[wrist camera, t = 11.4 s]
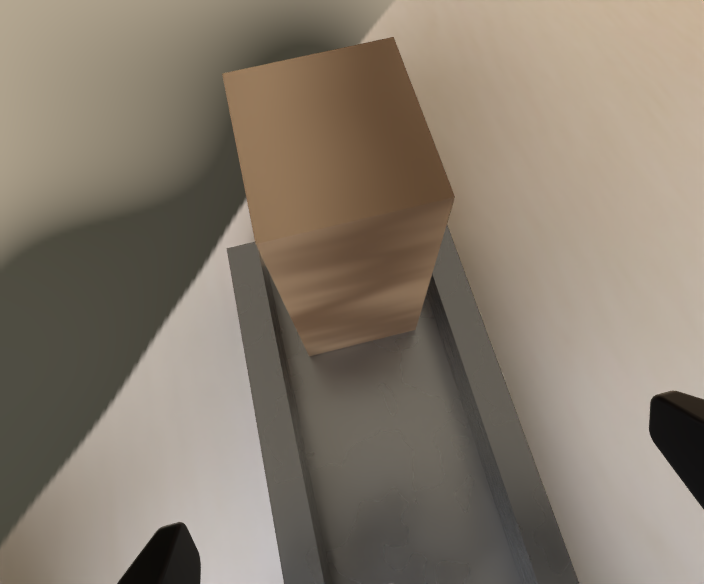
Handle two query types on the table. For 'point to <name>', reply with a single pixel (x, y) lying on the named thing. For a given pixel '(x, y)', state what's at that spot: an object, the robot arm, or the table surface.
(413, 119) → the wooden tall block
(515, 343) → the table surface
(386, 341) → the gray rectangular tray
